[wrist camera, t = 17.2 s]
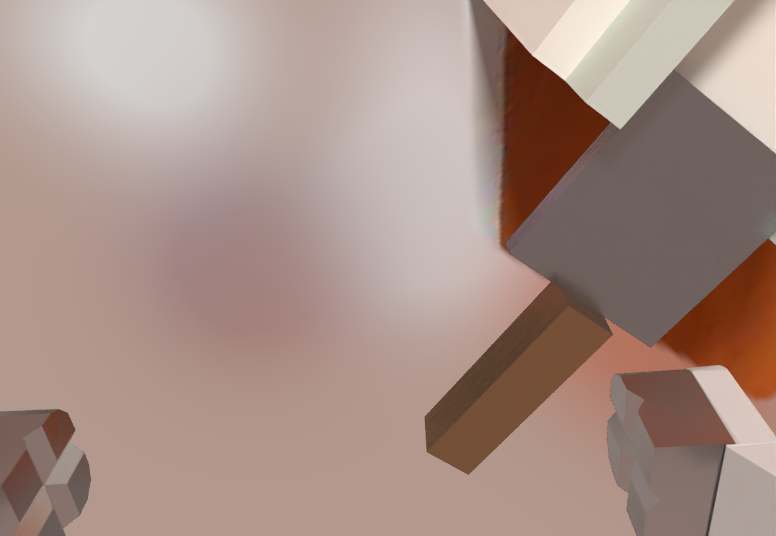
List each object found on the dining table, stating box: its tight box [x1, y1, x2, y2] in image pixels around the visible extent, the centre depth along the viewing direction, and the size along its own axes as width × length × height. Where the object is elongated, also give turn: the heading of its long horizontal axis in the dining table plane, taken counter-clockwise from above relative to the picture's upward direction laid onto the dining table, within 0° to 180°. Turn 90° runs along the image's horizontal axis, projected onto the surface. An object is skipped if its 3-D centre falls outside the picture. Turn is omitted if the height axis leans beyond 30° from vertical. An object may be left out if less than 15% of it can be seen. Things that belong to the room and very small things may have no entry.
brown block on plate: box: [425, 69, 776, 474], centre depth 29 cm, size 18×8×2 cm, turn 145°
